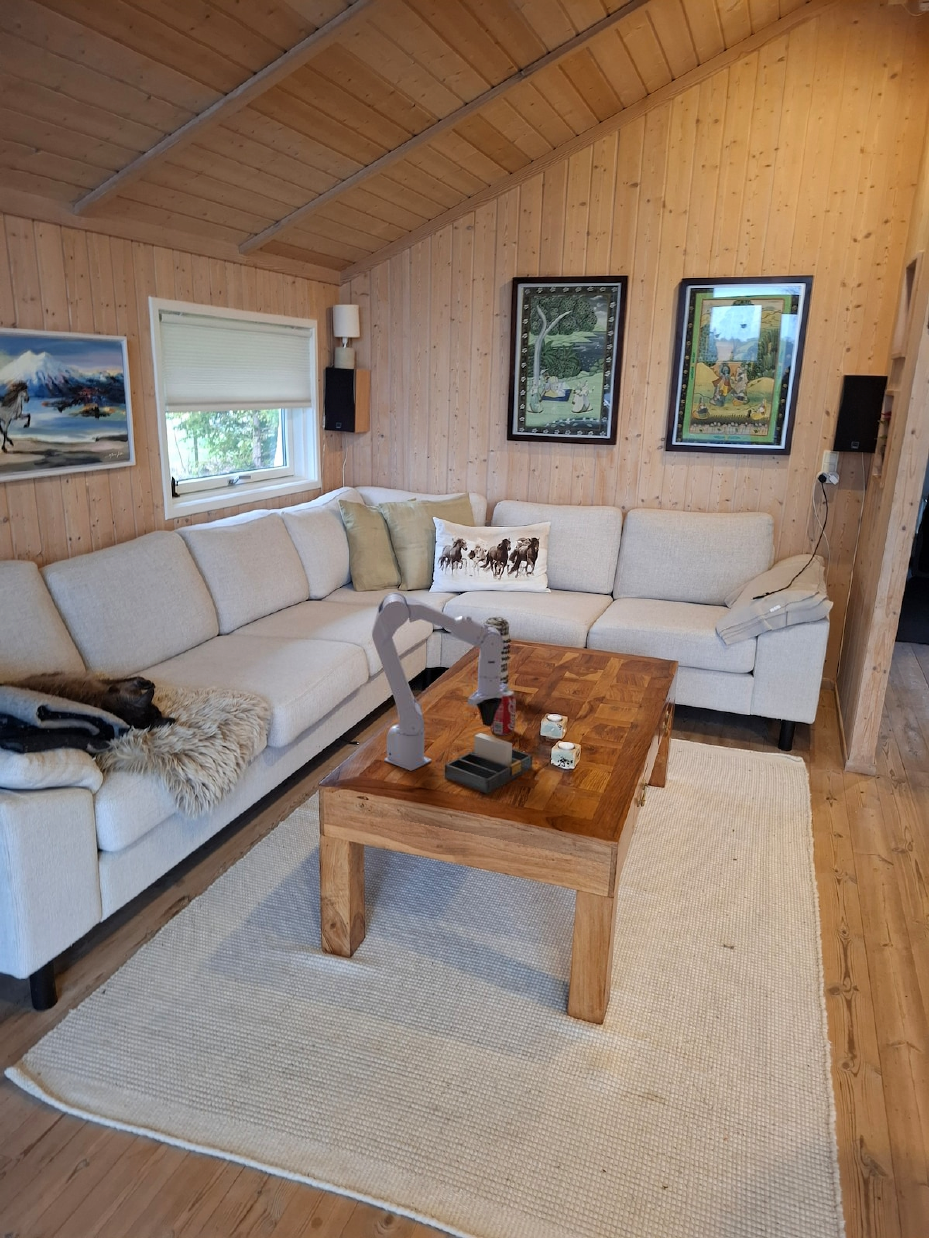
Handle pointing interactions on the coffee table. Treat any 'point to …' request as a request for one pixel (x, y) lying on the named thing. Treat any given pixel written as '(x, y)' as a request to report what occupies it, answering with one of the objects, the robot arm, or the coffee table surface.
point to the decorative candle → (503, 629)
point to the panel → (493, 749)
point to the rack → (486, 770)
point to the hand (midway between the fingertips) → (487, 724)
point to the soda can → (505, 715)
